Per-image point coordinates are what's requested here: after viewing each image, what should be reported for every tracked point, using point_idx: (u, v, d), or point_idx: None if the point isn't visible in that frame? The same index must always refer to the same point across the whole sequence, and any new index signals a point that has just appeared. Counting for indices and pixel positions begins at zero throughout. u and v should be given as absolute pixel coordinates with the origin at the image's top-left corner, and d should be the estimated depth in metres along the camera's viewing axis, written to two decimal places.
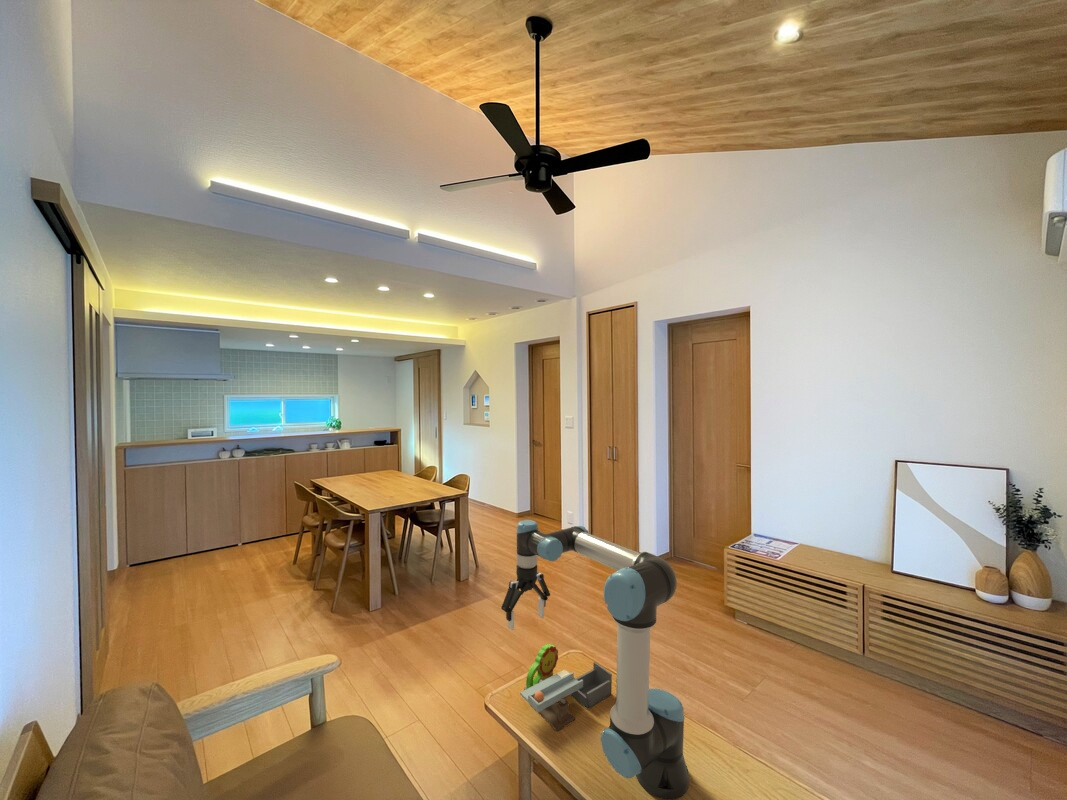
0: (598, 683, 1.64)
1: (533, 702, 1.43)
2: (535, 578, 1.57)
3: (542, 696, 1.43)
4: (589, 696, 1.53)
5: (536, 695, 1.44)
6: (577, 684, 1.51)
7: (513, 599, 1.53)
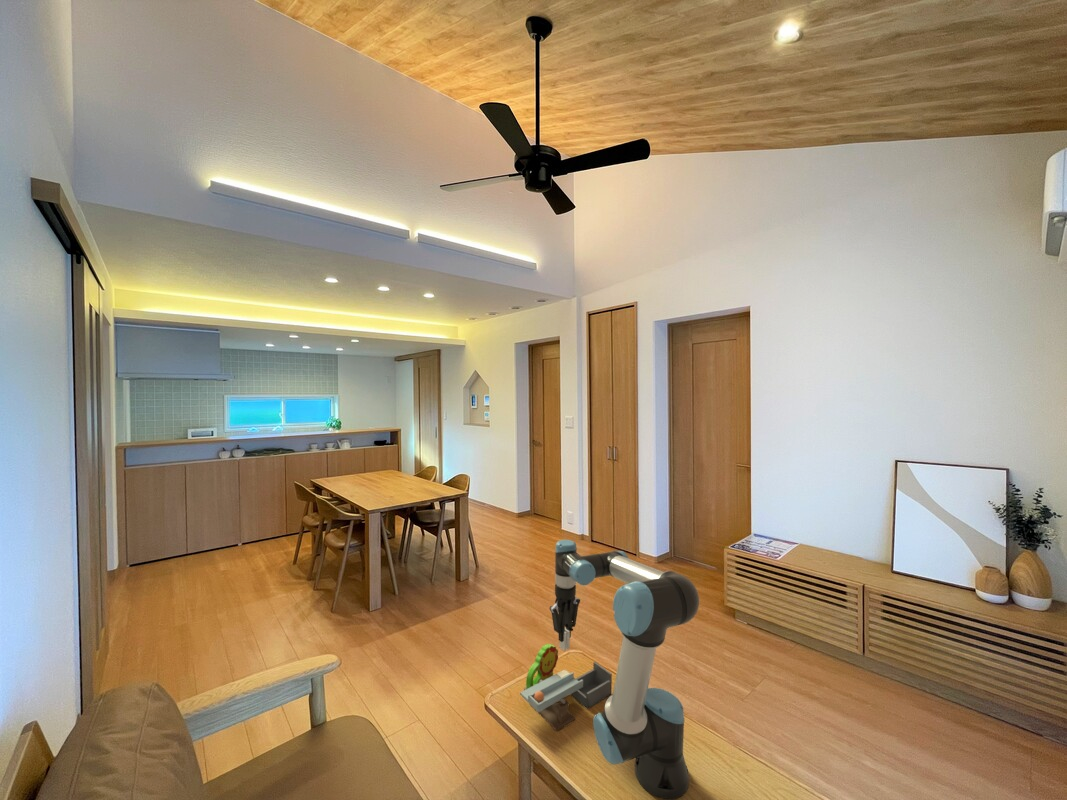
0: (598, 683, 1.64)
1: (533, 702, 1.43)
2: (573, 598, 1.58)
3: (542, 696, 1.43)
4: (589, 696, 1.53)
5: (536, 695, 1.44)
6: (577, 684, 1.51)
7: (560, 621, 1.56)
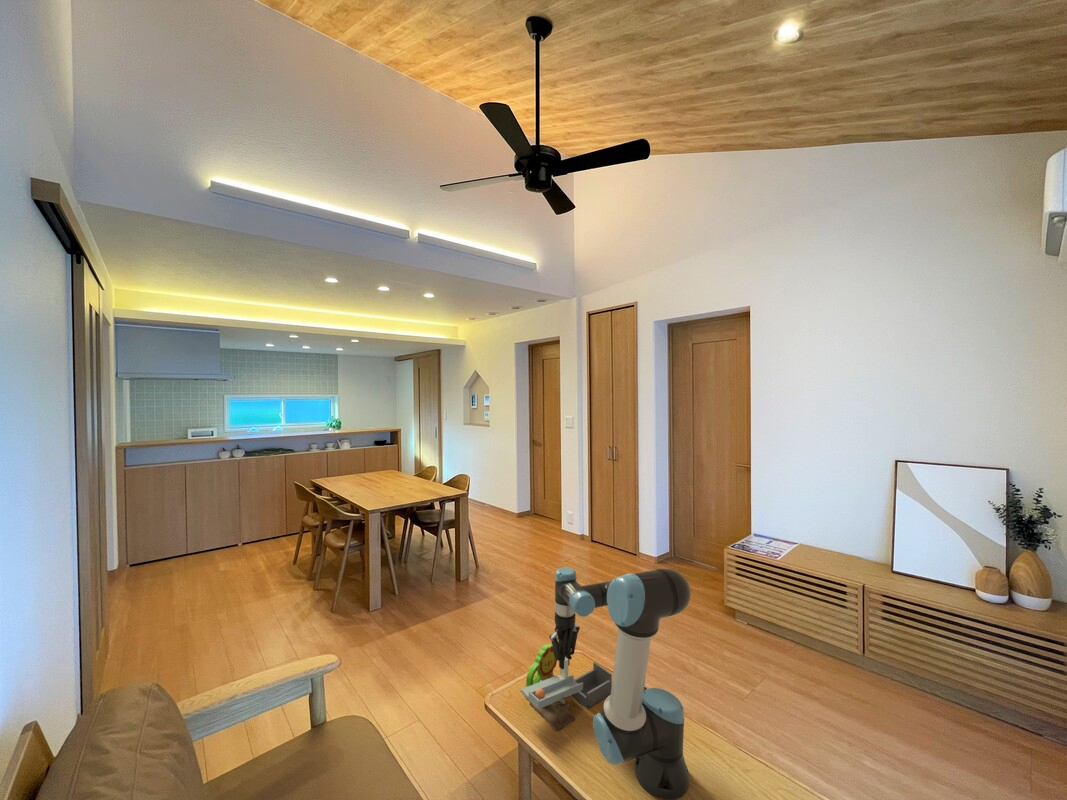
0: (598, 683, 1.64)
1: (534, 699, 1.43)
2: (573, 625, 1.58)
3: (543, 693, 1.44)
4: (589, 696, 1.53)
5: (538, 691, 1.44)
6: (577, 686, 1.51)
7: (561, 649, 1.56)
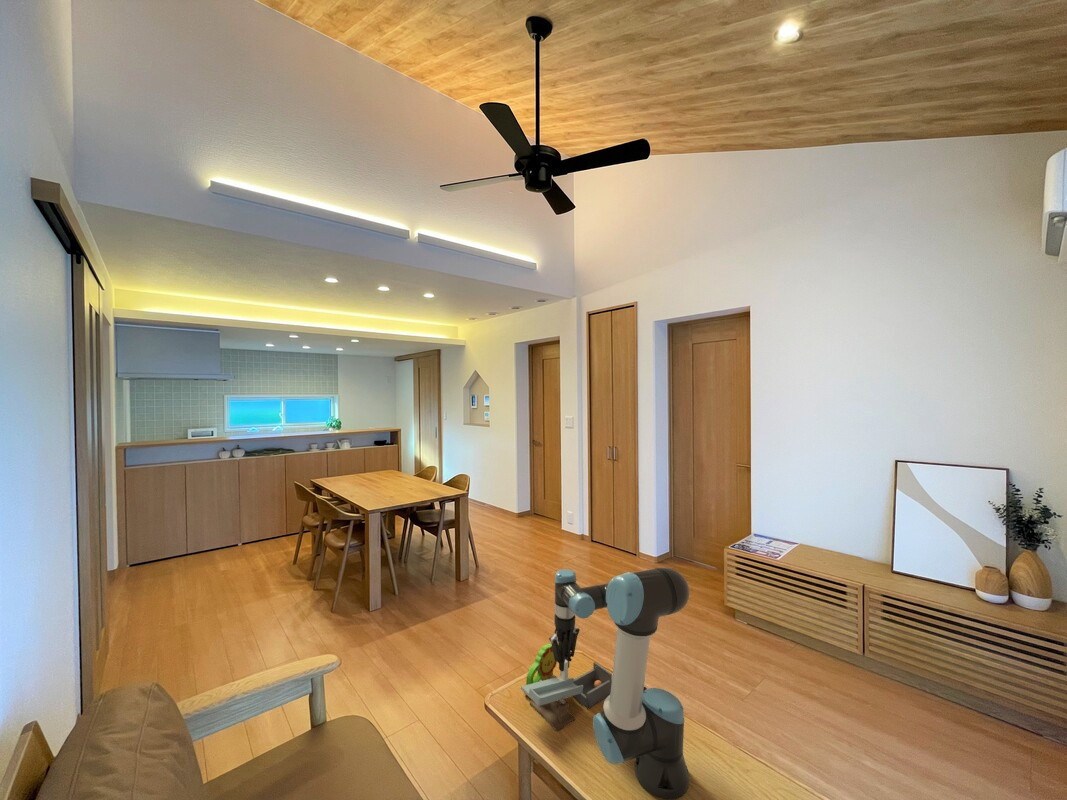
0: None
1: (534, 695, 1.43)
2: (573, 627, 1.58)
3: None
4: (589, 696, 1.53)
5: (595, 684, 1.61)
6: (577, 688, 1.51)
7: (560, 651, 1.56)
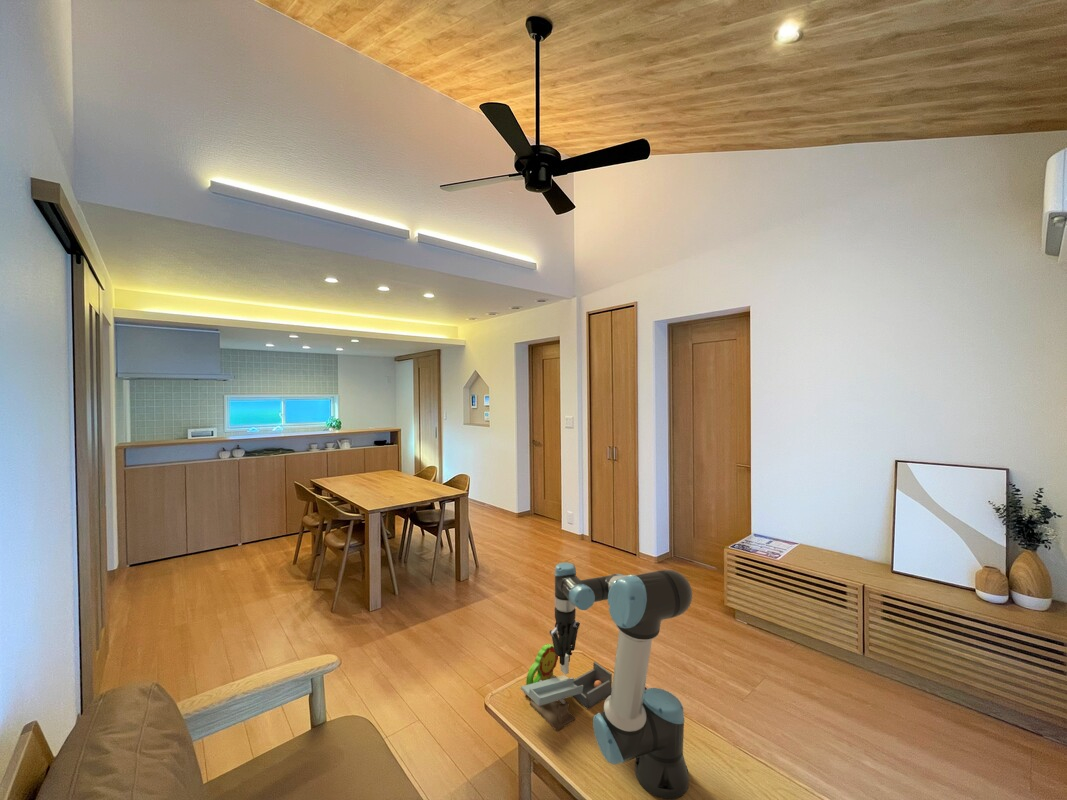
0: None
1: (534, 695, 1.43)
2: (573, 621, 1.58)
3: None
4: (589, 696, 1.53)
5: (595, 684, 1.61)
6: (577, 688, 1.51)
7: (561, 645, 1.56)
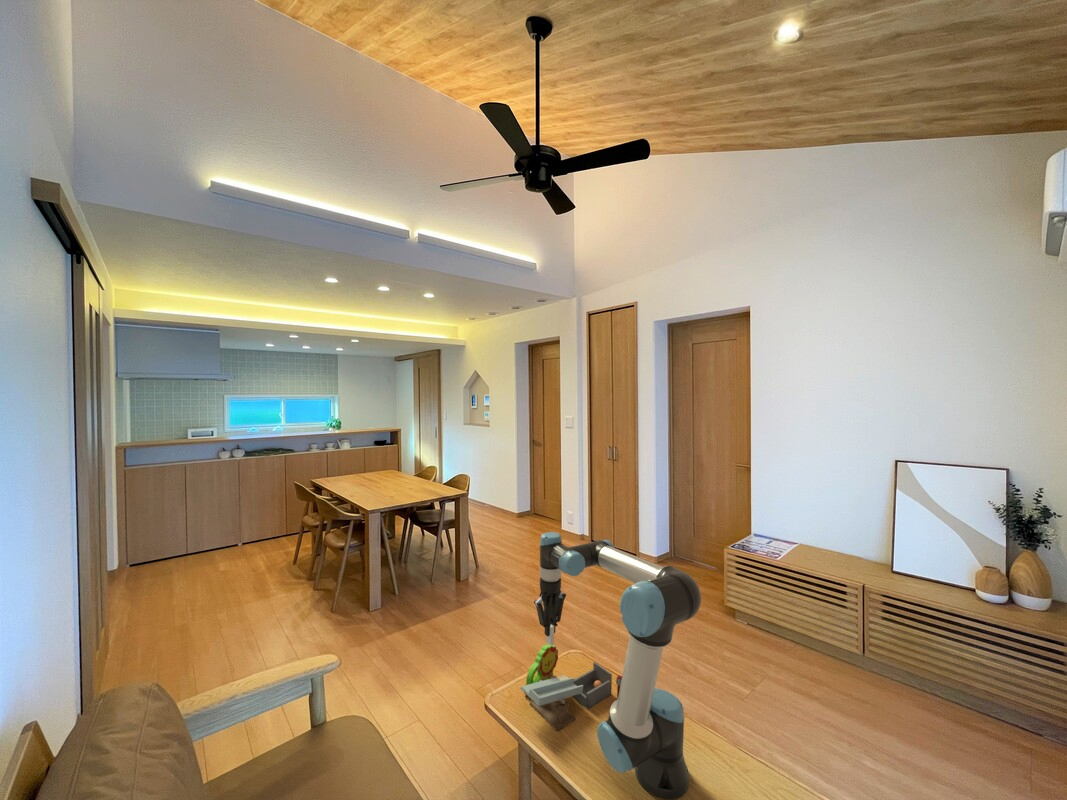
0: None
1: (534, 695, 1.43)
2: (559, 592, 1.54)
3: None
4: (589, 696, 1.53)
5: (595, 685, 1.61)
6: (577, 688, 1.51)
7: (546, 615, 1.52)
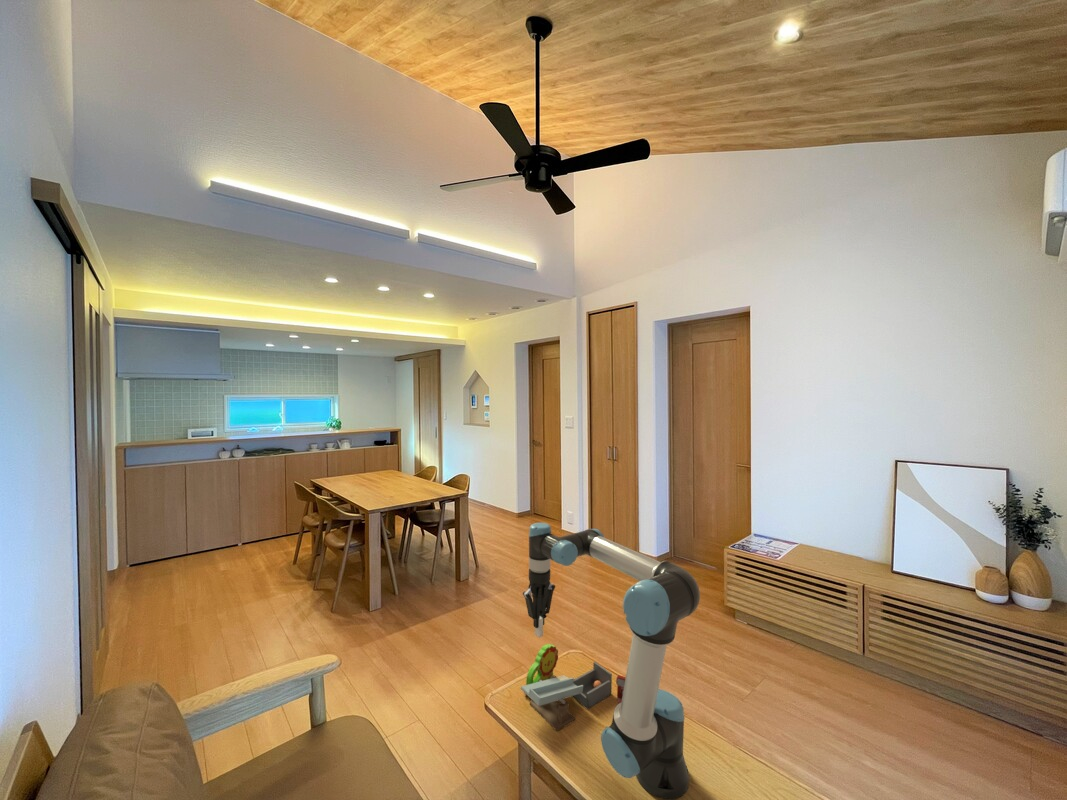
0: None
1: (534, 695, 1.43)
2: (548, 583, 1.52)
3: None
4: (589, 696, 1.53)
5: (595, 685, 1.61)
6: (577, 688, 1.51)
7: (535, 607, 1.50)
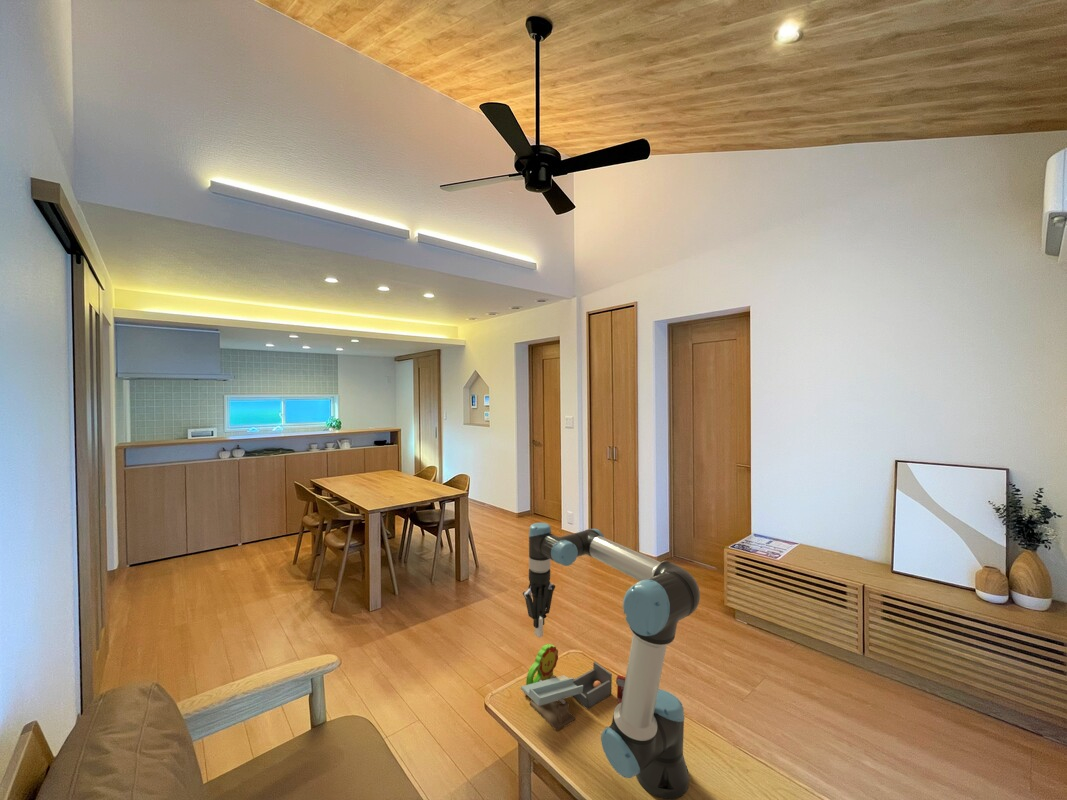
0: None
1: (534, 695, 1.43)
2: (548, 583, 1.52)
3: None
4: (589, 696, 1.53)
5: (594, 686, 1.60)
6: (577, 688, 1.51)
7: (535, 607, 1.50)
